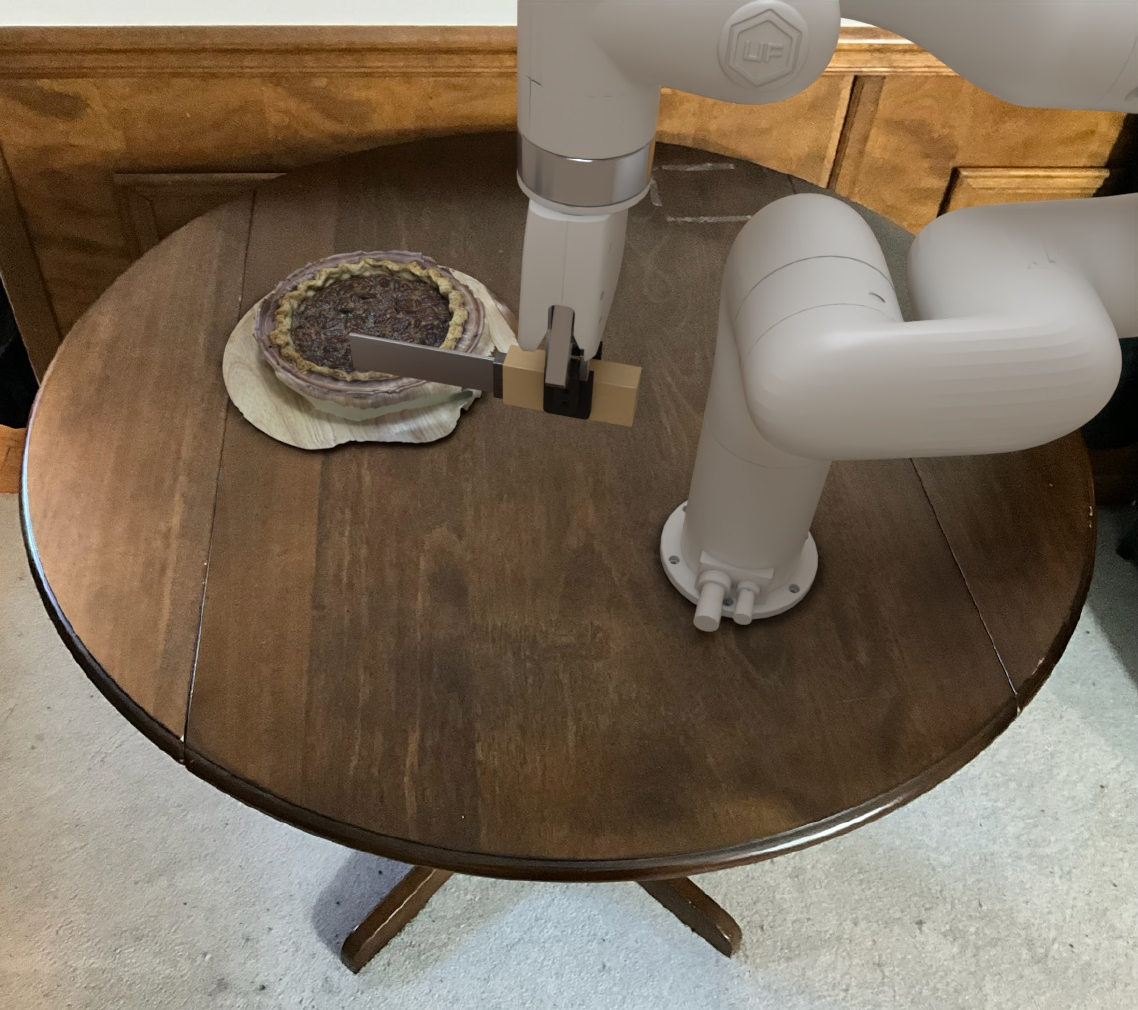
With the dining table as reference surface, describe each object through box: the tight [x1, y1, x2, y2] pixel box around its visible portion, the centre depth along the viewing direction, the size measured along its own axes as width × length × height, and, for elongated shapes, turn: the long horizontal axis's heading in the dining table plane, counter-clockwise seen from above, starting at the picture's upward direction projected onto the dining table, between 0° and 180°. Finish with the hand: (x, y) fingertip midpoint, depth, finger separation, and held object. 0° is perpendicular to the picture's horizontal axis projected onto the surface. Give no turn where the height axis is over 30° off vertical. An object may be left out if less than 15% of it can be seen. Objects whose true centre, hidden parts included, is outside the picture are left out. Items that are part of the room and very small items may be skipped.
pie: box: [222, 249, 519, 450], centre depth 97 cm, size 28×27×5 cm
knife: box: [349, 332, 643, 428], centre depth 71 cm, size 20×2×4 cm, turn 78°
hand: (571, 397), depth 71 cm, fingers closed on knife, 2 cm apart
